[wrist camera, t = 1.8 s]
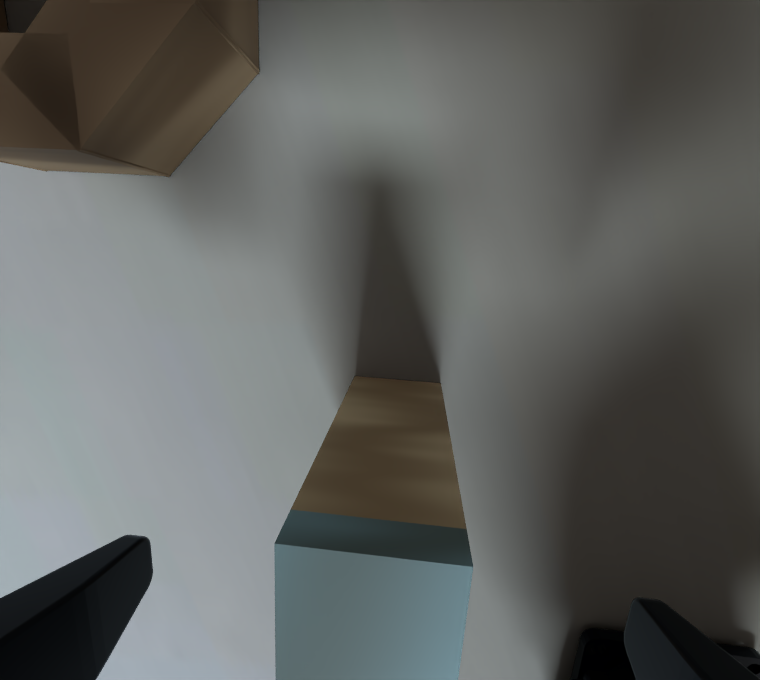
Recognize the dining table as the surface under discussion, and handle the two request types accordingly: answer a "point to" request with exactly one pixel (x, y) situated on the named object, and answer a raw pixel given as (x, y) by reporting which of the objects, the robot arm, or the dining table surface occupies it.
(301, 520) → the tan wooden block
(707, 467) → the dining table surface
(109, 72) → the wooden octagonal ring
